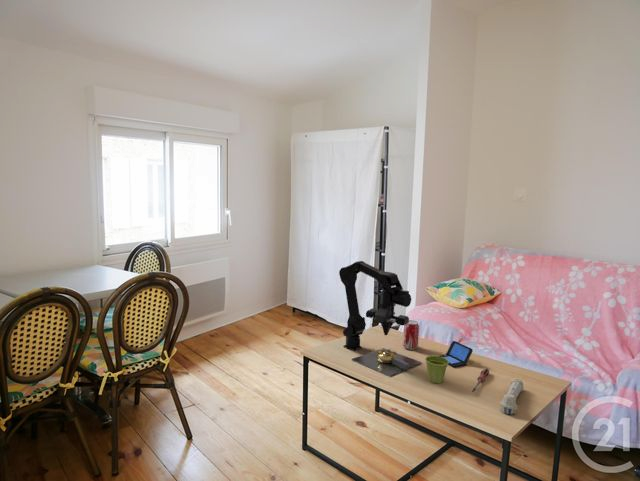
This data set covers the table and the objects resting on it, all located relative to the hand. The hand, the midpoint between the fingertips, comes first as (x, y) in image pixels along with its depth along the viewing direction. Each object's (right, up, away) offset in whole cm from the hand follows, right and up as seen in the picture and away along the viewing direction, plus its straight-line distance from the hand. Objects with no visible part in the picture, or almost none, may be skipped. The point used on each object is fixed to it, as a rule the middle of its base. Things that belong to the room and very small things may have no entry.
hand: (385, 335), depth 199 cm
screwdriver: (+35, -16, -21) cm, 43 cm away
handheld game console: (+31, -13, +2) cm, 34 cm away
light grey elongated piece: (+42, -18, -34) cm, 57 cm away
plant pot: (+17, -15, -19) cm, 30 cm away
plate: (0, -12, -1) cm, 12 cm away
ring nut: (+3, -11, -5) cm, 13 cm away
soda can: (+14, -10, +17) cm, 25 cm away
